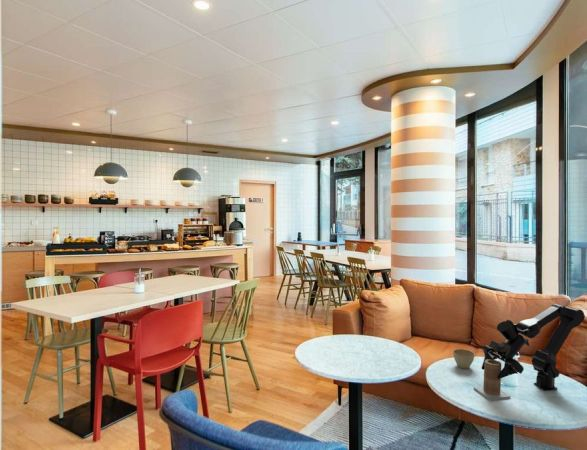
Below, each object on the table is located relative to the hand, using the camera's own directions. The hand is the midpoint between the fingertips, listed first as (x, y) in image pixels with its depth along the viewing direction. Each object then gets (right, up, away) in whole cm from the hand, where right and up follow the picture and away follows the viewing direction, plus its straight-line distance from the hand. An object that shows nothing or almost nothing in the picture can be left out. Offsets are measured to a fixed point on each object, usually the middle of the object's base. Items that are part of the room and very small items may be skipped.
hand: (489, 373), depth 167 cm
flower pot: (+1, -7, +28) cm, 29 cm away
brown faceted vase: (+1, -8, +1) cm, 8 cm away
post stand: (+1, -9, +1) cm, 9 cm away
